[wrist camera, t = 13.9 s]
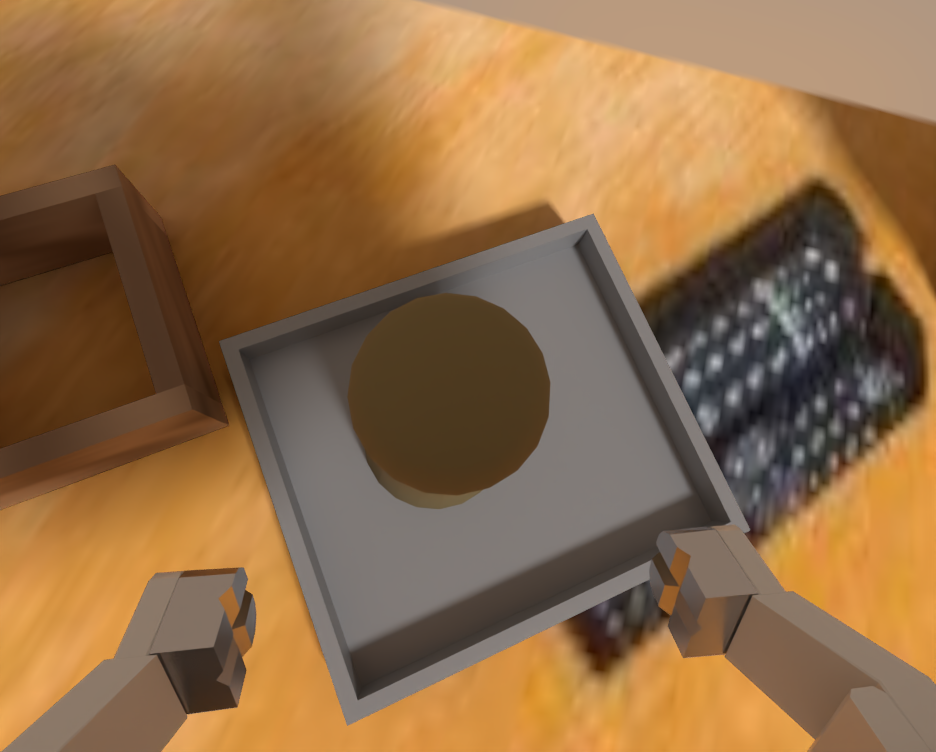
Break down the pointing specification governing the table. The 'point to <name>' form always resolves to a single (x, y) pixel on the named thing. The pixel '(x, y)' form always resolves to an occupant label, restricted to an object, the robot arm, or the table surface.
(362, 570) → the tray
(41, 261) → the holder
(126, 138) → the table surface
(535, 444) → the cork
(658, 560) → the robot arm
